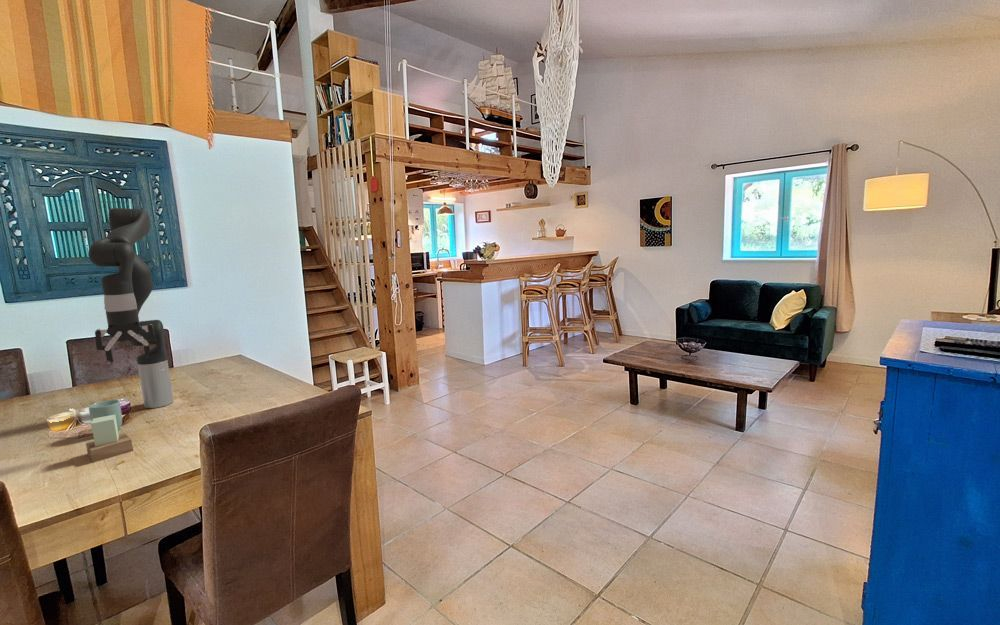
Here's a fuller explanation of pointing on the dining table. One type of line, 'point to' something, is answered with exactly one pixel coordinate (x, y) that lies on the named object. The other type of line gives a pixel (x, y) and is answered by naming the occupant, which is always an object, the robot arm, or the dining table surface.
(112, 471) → the dining table surface
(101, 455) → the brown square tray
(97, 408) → the cup
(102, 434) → the green block
